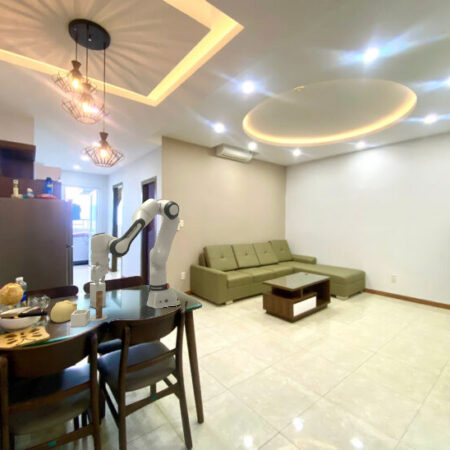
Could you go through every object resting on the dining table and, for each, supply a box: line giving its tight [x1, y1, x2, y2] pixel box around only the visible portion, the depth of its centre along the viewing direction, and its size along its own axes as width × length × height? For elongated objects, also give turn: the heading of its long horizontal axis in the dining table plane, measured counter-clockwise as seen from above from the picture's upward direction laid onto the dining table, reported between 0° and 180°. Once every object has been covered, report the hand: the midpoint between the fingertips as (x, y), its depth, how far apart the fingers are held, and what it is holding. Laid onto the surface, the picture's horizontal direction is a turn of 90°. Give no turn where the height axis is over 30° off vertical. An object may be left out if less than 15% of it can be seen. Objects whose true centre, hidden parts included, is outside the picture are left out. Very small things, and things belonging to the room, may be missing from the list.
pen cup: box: [70, 309, 91, 328], centre depth 130 cm, size 7×7×7 cm
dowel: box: [95, 291, 104, 319], centre depth 138 cm, size 3×3×15 cm
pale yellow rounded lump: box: [50, 299, 78, 324], centre depth 135 cm, size 11×12×11 cm
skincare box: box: [89, 281, 107, 310], centre depth 158 cm, size 8×7×16 cm
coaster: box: [90, 314, 108, 322], centre depth 139 cm, size 9×9×1 cm
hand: (100, 284), depth 139 cm, fingers open, 8 cm apart
